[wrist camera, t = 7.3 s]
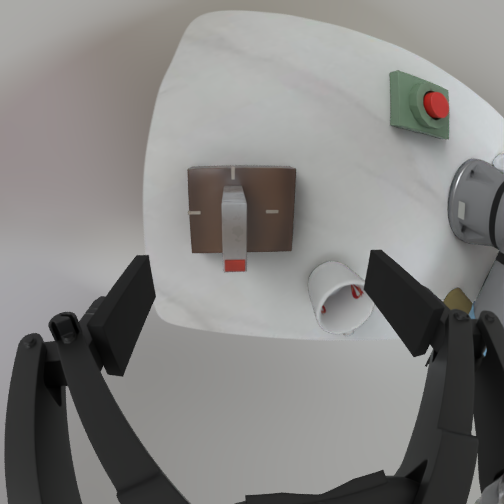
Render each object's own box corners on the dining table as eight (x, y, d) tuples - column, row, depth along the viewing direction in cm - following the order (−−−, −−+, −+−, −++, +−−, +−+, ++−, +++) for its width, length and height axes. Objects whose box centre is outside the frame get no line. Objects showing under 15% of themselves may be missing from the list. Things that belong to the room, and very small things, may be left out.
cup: (358, 303, 41) (379, 333, 33) (313, 322, 41) (327, 356, 34) (346, 245, 36) (372, 271, 29) (294, 266, 37) (309, 297, 30)
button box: (439, 91, 28) (456, 89, 24) (439, 138, 31) (456, 140, 27) (389, 72, 27) (405, 67, 23) (390, 125, 30) (406, 125, 26)
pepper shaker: (438, 307, 44) (469, 339, 33) (455, 283, 42) (489, 312, 32) (448, 316, 45) (477, 346, 35) (465, 294, 43) (495, 321, 33)
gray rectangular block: (223, 185, 29) (221, 204, 21) (242, 185, 29) (247, 203, 21) (224, 237, 31) (223, 273, 23) (242, 236, 32) (246, 273, 23)
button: (440, 96, 25) (448, 96, 23) (441, 120, 26) (449, 120, 25) (422, 89, 25) (430, 88, 23) (423, 114, 26) (431, 114, 25)
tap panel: (290, 165, 32) (296, 167, 29) (286, 243, 36) (291, 252, 33) (190, 165, 31) (186, 168, 28) (194, 245, 35) (191, 254, 32)
